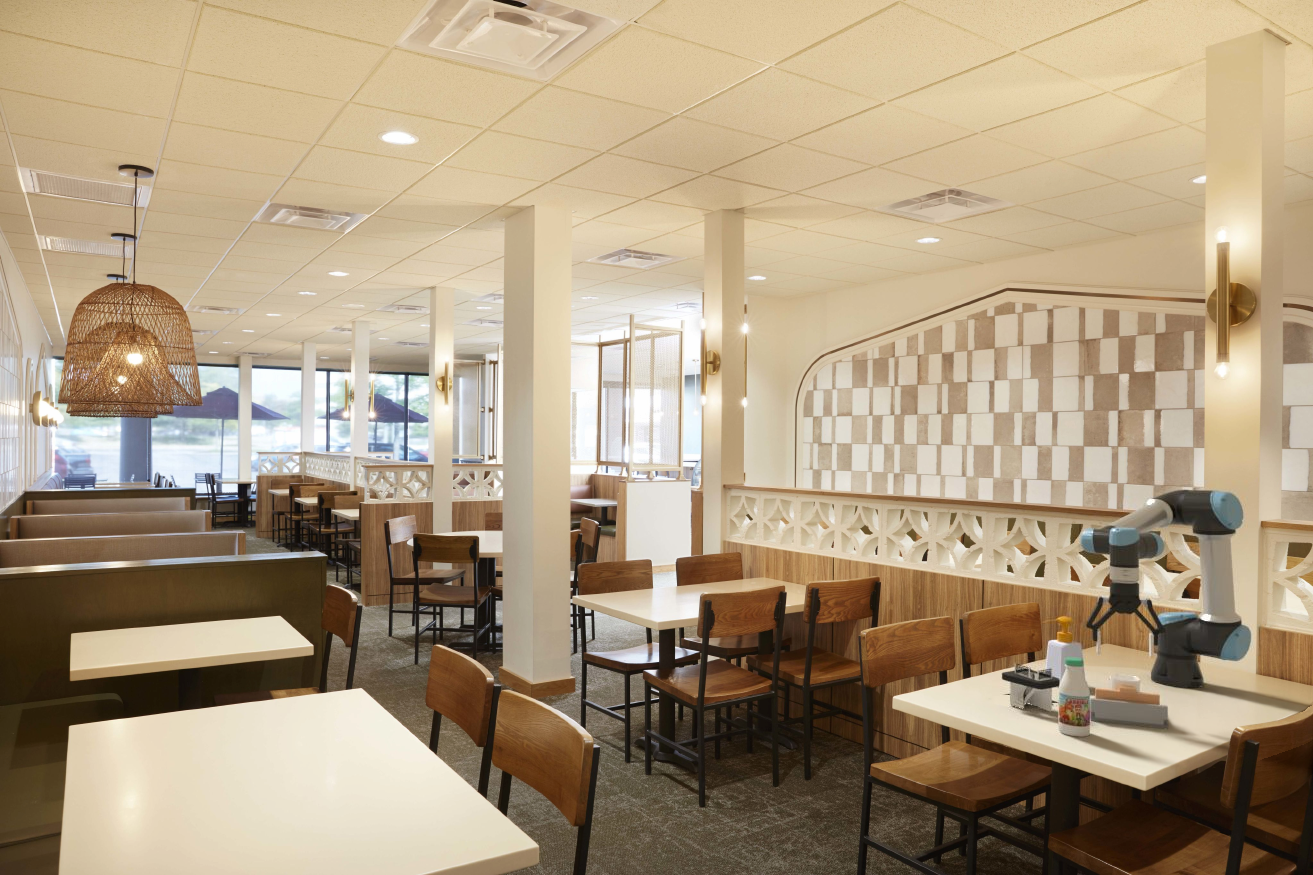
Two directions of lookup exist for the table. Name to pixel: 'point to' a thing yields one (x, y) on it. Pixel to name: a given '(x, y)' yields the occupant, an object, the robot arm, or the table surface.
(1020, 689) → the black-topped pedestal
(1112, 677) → the white cup
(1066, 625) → the soap bottle
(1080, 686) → the milk bottle
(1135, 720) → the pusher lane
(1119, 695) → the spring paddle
